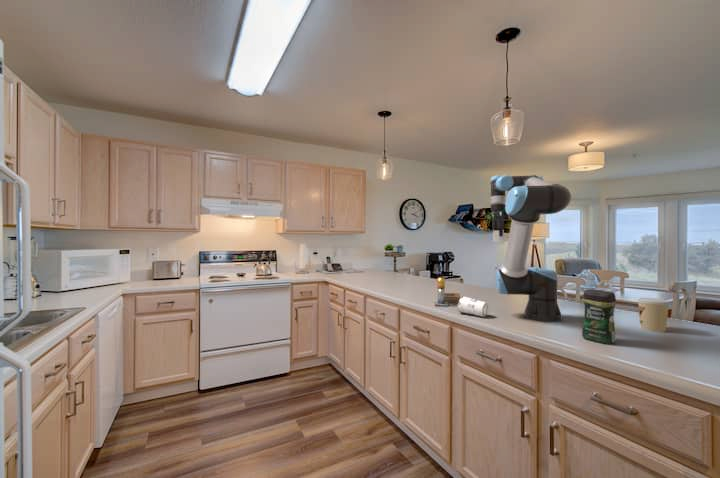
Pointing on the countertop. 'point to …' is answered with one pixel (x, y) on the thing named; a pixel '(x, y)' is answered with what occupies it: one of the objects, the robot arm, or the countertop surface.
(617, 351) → the countertop surface
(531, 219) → the robot arm
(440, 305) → the rest mat
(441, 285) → the gold and silver cylinder
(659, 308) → the coffee cup
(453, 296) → the socket block
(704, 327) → the countertop surface
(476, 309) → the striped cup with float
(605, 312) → the coffee jar
